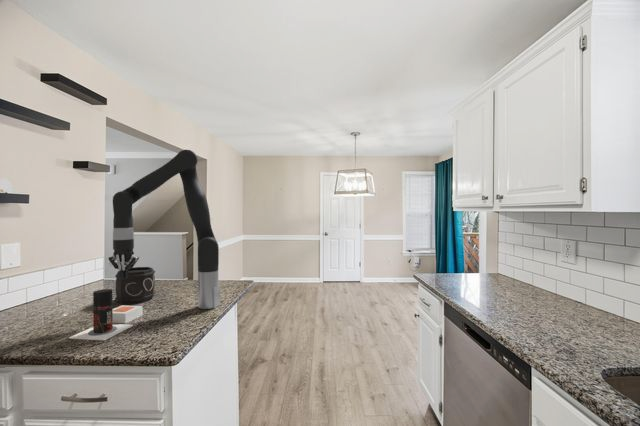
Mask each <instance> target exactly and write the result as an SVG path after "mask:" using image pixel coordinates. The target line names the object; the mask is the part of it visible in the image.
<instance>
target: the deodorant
mask: <svg viewBox="0 0 640 426" xmlns="http://www.w3.org/2000/svg"><path fill="white" fill-rule="evenodd" d="M92 301H93V302H92V306H93V307H92V308H93V309H92V310H93V312H92V313H93V316H92V319H93V321H92V322H93V324H92V325H93V326H92V327H93V332H94V333H96V334H99V333H105V332H109V331H111V330H112V329H113V324H114V323H113V310H112V309H113V289H110V288H106V289H104V288H103V289H98V290H95V291H93V292H92Z"/></svg>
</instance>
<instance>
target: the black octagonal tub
mask: <svg viewBox="0 0 640 426" xmlns="http://www.w3.org/2000/svg"><path fill="white" fill-rule="evenodd" d="M155 273H156V271H155V270H154V268H153V267H150V266H138V267H137V266H136V267H134V266H133V268H130V269H129V270H128V277H127V279H121V278H120V270H119V269H118V270H117V273H116V274H115V276H114V277H115V278H116V279H115V295H116V296H115V298H114V299H115V300H116V301H117V303H119V304H121V305H135V304H140V303H141V304H142V303H145V302H148V301H151V300H152V299H153V298H154V296H155V295H156V291H155V289H156V288H155V286H156V283H155V282H156V278H155V277H156V276H155Z"/></svg>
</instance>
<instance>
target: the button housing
mask: <svg viewBox="0 0 640 426" xmlns="http://www.w3.org/2000/svg"><path fill="white" fill-rule="evenodd" d="M120 307H134V308H133V309H130V310H128V311H126V312H115V311H113V324H127V323H129V322H131V321H133V320H136V319H137V318H139V317H142V316H143V315H144V314H143V308H144V307H143V305H127V304H121V305H119V306H117V307H114V308H112V310H115V309H118V308H120Z"/></svg>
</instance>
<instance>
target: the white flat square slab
mask: <svg viewBox="0 0 640 426" xmlns="http://www.w3.org/2000/svg"><path fill="white" fill-rule="evenodd" d="M132 327H134V324H127V323H113V329H112V330H111V331H109V332H105V333H99V334H96V333H94V332H93V326H92V327H90V328H87V329H86V330H83V331H81V332H78V333H76V334H74V335H72V336H70V337H68V339H71V340H89V341H106V340H109V339H110V338H111V337H115V336H117V335H118V334H120V333H122V332H124V331H125V330H128V329H130V328H132Z"/></svg>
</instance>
